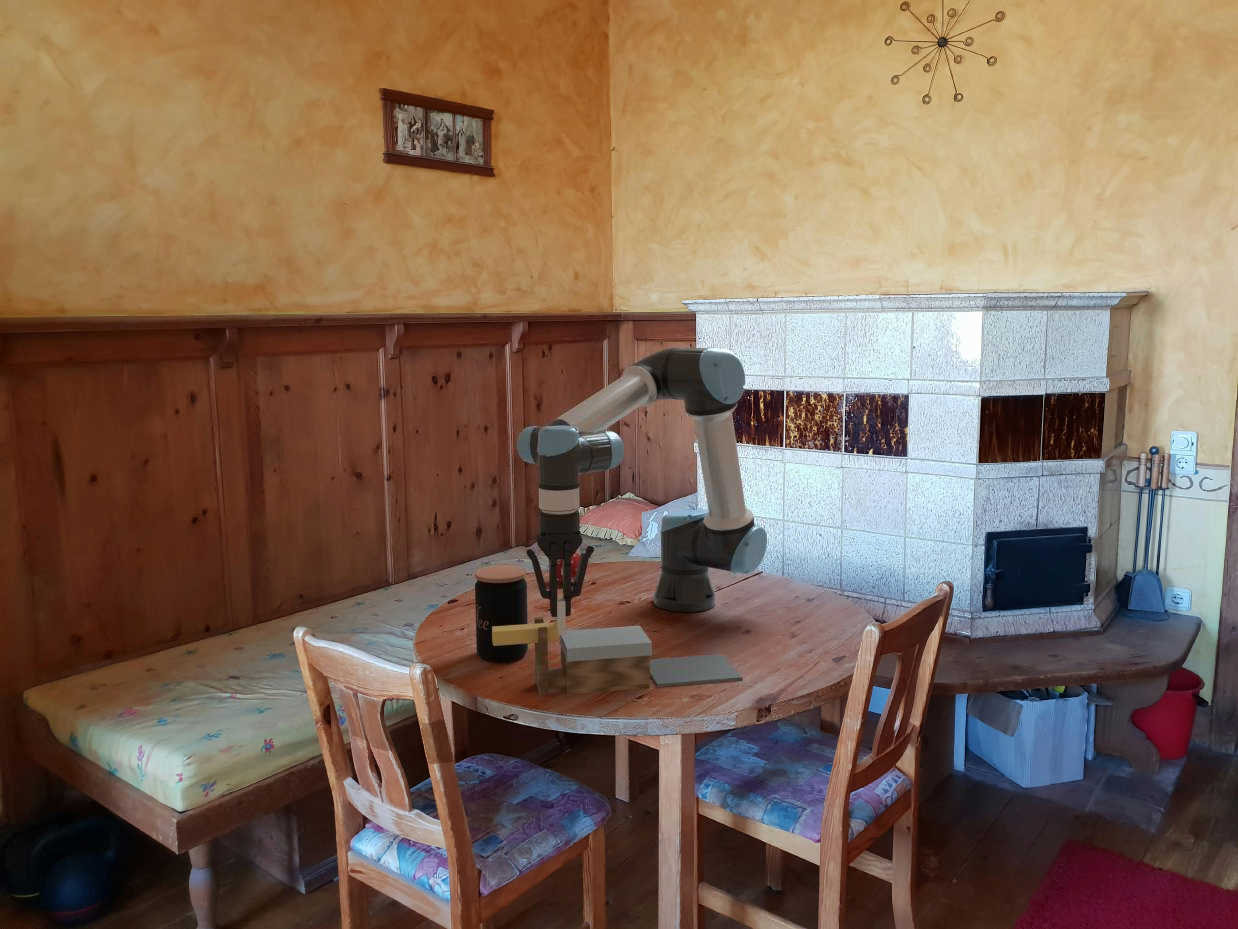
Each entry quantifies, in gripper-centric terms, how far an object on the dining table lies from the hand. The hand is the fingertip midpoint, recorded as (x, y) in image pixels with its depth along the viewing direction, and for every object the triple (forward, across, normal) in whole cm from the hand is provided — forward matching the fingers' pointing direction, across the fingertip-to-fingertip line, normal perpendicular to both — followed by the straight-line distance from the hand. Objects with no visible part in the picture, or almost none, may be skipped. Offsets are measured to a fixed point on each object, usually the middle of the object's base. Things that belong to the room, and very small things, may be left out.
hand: (560, 632), depth 175 cm
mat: (+11, -26, -3) cm, 29 cm away
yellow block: (+1, +7, 0) cm, 7 cm away
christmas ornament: (+11, -12, -71) cm, 73 cm away
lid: (+4, -8, 0) cm, 9 cm away
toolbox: (+11, -6, 0) cm, 12 cm away
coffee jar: (+11, +10, -20) cm, 25 cm away
